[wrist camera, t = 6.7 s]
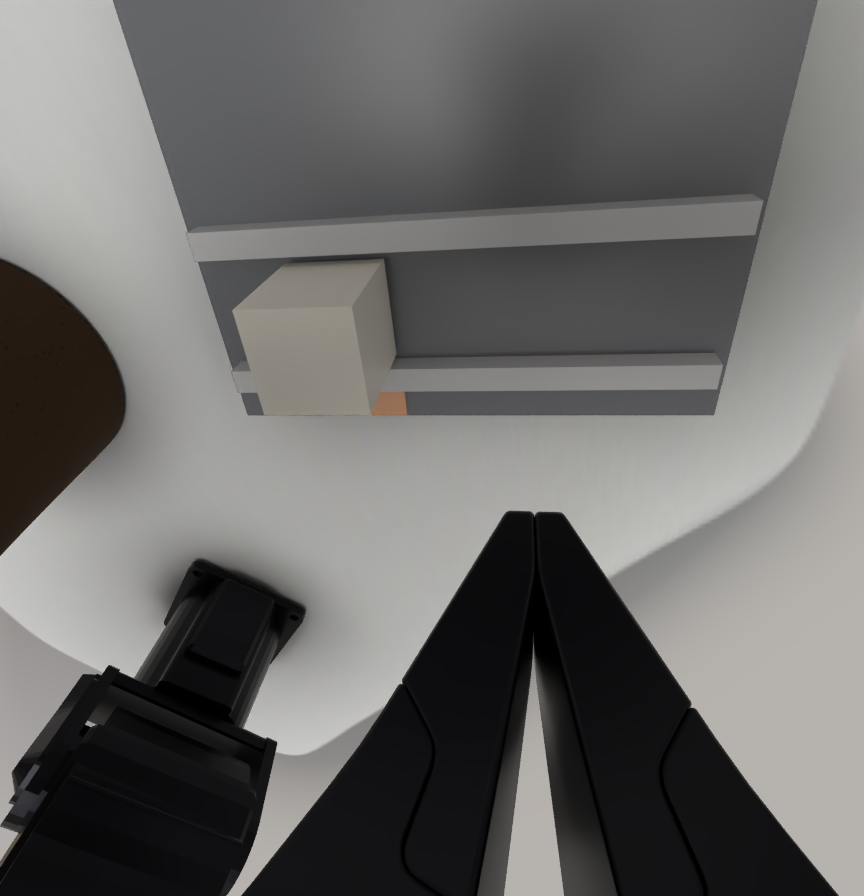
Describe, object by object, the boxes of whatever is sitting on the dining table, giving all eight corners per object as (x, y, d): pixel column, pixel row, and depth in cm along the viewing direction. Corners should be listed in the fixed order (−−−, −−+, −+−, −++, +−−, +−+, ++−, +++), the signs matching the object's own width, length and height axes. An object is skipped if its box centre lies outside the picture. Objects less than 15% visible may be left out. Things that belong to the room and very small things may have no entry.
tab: (396, 353, 17) (370, 415, 15) (307, 355, 18) (264, 415, 15) (384, 258, 16) (351, 306, 13) (285, 262, 16) (231, 310, 13)
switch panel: (697, 384, 19) (721, 428, 17) (268, 388, 22) (239, 427, 19) (975, -866, 8) (1161, -1244, 5) (-5, -553, 10) (-155, -723, 8)
